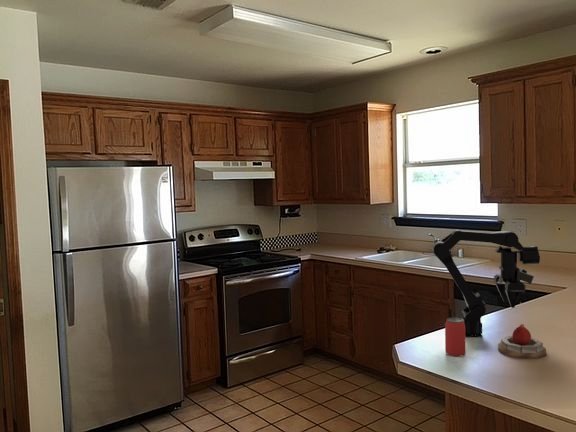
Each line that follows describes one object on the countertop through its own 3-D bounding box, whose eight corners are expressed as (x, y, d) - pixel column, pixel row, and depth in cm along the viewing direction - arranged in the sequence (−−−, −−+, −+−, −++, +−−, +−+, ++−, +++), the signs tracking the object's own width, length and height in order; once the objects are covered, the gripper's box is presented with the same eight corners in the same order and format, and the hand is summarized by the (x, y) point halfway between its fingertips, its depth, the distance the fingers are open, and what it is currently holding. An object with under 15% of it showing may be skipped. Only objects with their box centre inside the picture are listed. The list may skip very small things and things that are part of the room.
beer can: (461, 350, 172) (460, 316, 171) (468, 356, 165) (468, 321, 165) (442, 351, 172) (442, 317, 171) (449, 357, 165) (449, 322, 165)
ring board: (507, 358, 162) (507, 348, 162) (491, 344, 177) (491, 335, 177) (554, 358, 161) (554, 348, 161) (534, 344, 176) (534, 334, 176)
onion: (521, 350, 165) (520, 327, 165) (508, 345, 171) (508, 323, 171) (534, 348, 167) (534, 325, 167) (522, 343, 173) (522, 321, 172)
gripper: (540, 268, 175) (540, 310, 176) (522, 260, 194) (522, 299, 194) (508, 268, 177) (508, 310, 177) (493, 260, 195) (493, 299, 196)
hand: (508, 304), depth 186 cm, fingers open, 9 cm apart
